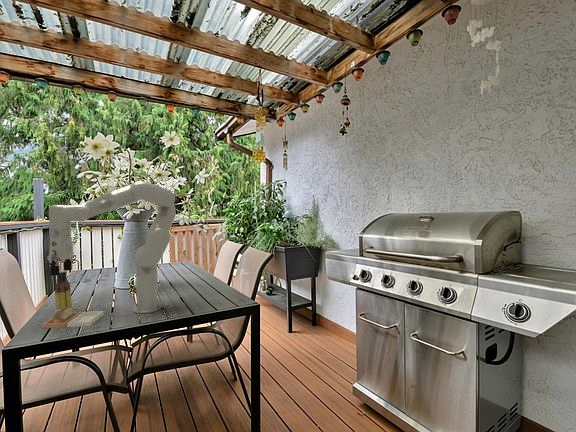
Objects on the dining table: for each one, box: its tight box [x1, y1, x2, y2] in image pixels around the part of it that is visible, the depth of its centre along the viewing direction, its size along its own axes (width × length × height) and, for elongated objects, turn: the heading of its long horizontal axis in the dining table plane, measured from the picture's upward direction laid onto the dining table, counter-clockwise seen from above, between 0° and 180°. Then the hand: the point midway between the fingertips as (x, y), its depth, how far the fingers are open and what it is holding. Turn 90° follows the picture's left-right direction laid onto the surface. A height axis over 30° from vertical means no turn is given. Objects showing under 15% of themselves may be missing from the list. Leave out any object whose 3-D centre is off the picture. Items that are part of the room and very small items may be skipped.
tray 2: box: [66, 310, 105, 328], centre depth 139 cm, size 8×14×2 cm, turn 8°
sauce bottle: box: [54, 270, 73, 311], centre depth 152 cm, size 7×6×20 cm
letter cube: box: [52, 307, 73, 323], centre depth 138 cm, size 5×5×5 cm
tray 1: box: [41, 311, 83, 329], centre depth 138 cm, size 8×14×2 cm, turn 8°
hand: (61, 272), depth 137 cm, fingers open, 9 cm apart
